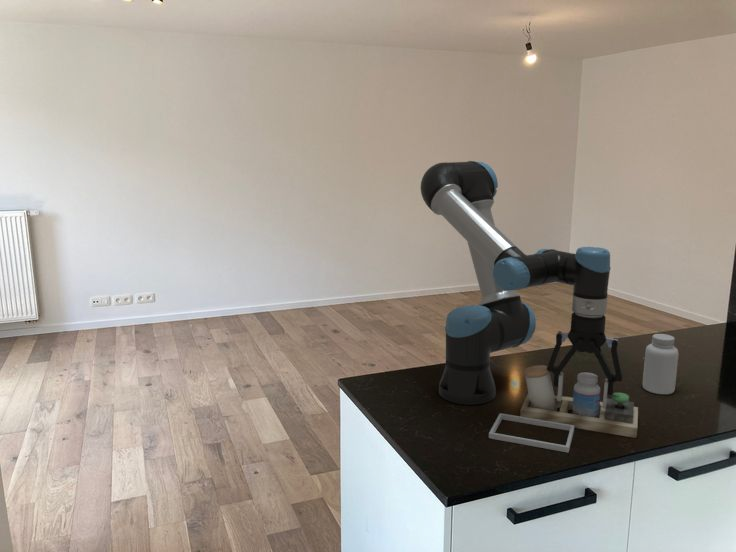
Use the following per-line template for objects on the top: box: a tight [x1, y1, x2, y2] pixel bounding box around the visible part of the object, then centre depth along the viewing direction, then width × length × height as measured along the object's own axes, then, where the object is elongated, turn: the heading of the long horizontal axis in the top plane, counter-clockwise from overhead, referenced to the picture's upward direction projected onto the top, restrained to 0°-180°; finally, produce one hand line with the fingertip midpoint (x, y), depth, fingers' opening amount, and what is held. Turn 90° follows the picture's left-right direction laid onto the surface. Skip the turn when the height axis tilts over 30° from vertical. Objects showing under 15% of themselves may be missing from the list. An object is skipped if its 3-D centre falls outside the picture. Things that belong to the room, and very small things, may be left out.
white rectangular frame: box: [488, 412, 575, 453], centre depth 136 cm, size 17×11×1 cm, turn 65°
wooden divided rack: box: [519, 393, 639, 439], centre depth 144 cm, size 26×12×4 cm, turn 65°
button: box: [611, 392, 630, 408], centre depth 139 cm, size 4×4×3 cm
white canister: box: [523, 364, 558, 412], centre depth 147 cm, size 6×6×11 cm
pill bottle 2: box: [642, 333, 679, 395], centre depth 158 cm, size 8×8×15 cm
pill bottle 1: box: [572, 372, 602, 418], centre depth 142 cm, size 6×6×11 cm
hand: (581, 402), depth 143 cm, fingers open, 10 cm apart
